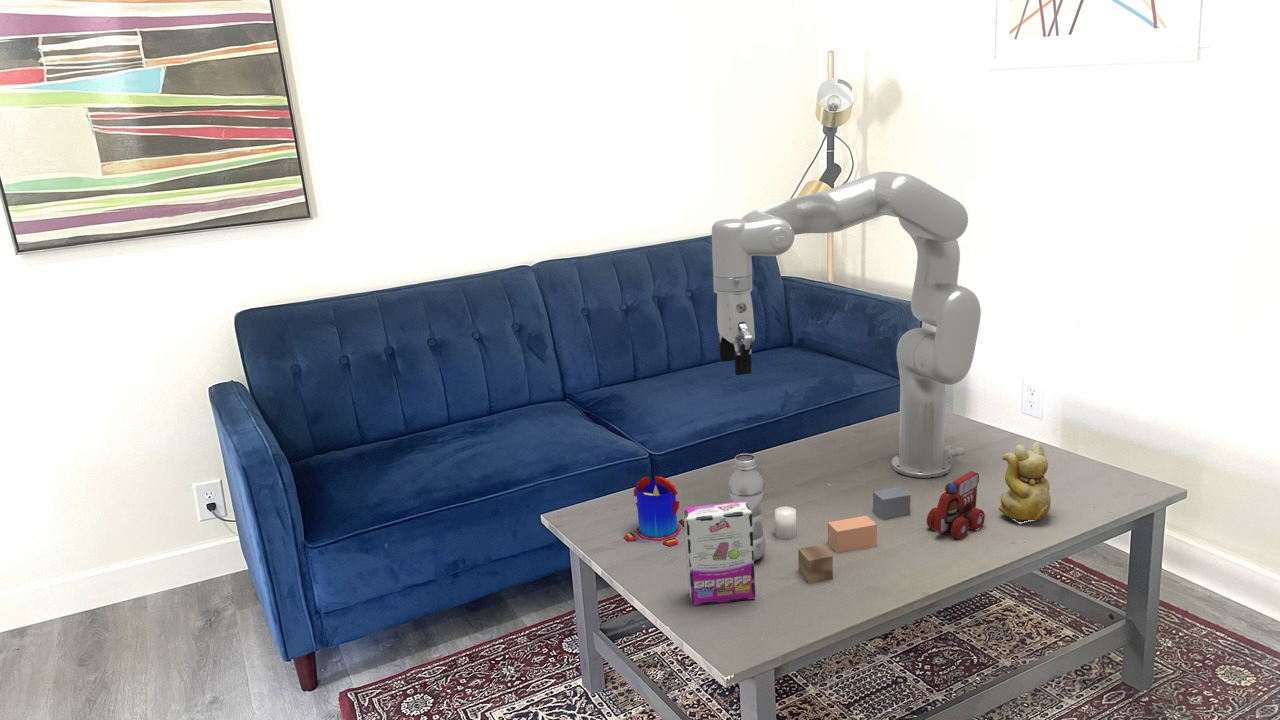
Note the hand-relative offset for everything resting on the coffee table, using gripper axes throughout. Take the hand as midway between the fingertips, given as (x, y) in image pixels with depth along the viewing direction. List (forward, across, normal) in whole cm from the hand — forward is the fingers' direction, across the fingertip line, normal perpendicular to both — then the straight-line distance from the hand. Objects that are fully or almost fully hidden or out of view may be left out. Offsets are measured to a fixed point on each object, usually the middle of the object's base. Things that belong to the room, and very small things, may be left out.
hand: (735, 367), depth 184 cm
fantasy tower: (+30, -7, +19) cm, 36 cm away
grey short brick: (+30, -15, -27) cm, 43 cm away
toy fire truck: (+30, -25, -35) cm, 52 cm away
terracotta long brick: (+30, -24, -14) cm, 41 cm away
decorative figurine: (+30, -25, -50) cm, 64 cm away
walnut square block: (+30, -32, -3) cm, 44 cm away
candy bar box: (+30, -34, +15) cm, 47 cm away
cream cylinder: (+30, -16, -4) cm, 34 cm away
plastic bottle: (+30, -22, +6) cm, 38 cm away
